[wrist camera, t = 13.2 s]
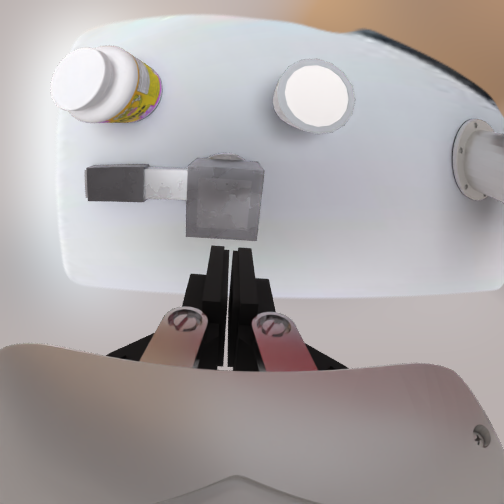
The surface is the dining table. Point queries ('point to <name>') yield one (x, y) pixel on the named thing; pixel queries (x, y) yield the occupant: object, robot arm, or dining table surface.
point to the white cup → (314, 96)
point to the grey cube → (223, 199)
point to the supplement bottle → (105, 86)
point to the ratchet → (139, 181)
